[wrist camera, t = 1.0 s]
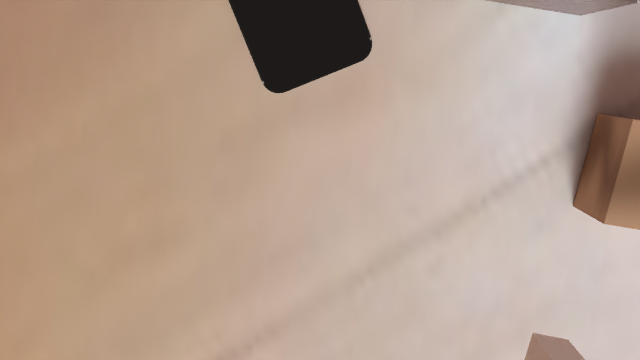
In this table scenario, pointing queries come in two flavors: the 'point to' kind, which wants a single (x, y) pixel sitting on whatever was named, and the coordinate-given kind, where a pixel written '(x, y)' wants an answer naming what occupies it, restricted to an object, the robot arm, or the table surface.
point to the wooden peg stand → (612, 173)
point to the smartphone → (301, 38)
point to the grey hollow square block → (570, 5)
